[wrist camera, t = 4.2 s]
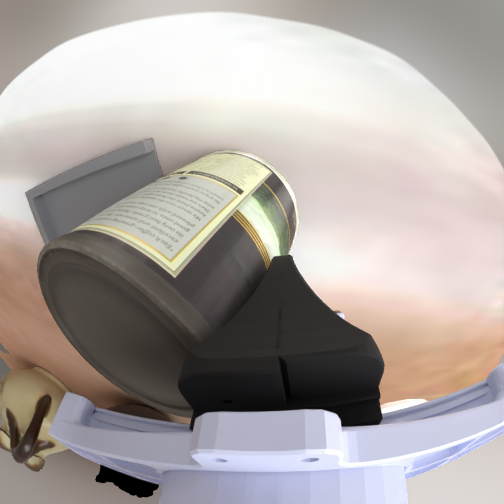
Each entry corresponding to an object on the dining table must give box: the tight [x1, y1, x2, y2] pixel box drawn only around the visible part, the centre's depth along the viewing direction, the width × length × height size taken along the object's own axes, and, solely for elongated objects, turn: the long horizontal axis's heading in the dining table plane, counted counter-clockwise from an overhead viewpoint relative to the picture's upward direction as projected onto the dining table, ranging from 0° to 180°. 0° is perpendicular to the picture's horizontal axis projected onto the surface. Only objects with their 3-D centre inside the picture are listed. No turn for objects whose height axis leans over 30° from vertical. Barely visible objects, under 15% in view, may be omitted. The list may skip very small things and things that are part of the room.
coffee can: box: [37, 150, 299, 418], centre depth 15 cm, size 10×10×14 cm
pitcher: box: [0, 367, 70, 472], centre depth 35 cm, size 22×24×25 cm
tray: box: [25, 138, 163, 245], centre depth 23 cm, size 15×16×2 cm
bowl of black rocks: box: [95, 404, 172, 498], centre depth 35 cm, size 20×20×19 cm
